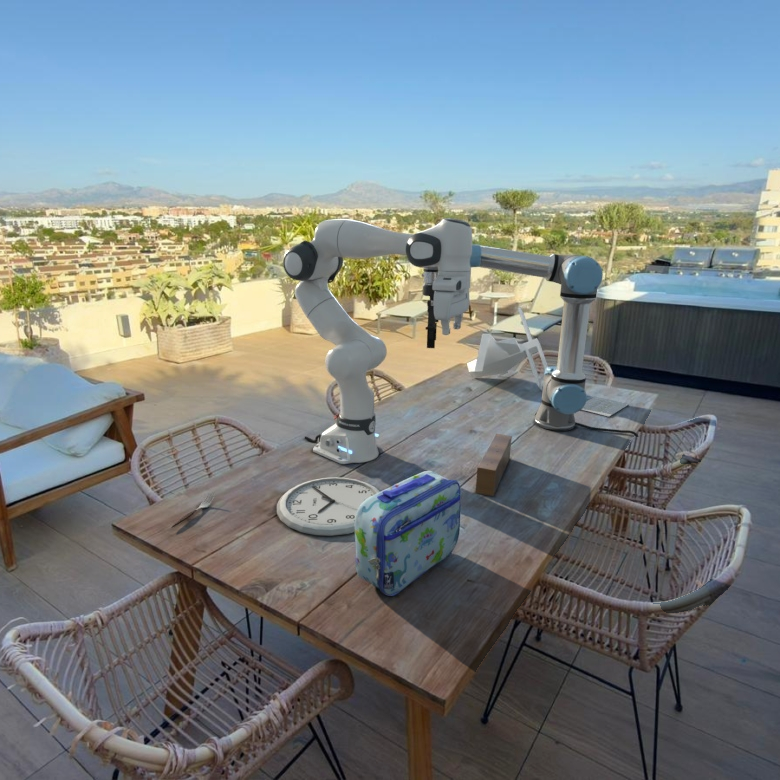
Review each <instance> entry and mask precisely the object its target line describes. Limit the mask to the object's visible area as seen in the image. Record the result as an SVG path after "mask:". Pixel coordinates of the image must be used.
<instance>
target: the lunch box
mask: <svg viewBox="0 0 780 780" xmlns="http://www.w3.org/2000/svg"><path fill="white" fill-rule="evenodd" d="M380 491H381V492H379V493H377V494H375V495H373V496H371V497H369V498H367V499H366V500H364V501H363V502H362V504H361V505H360V506H359V508H358V510H357V513H356V516H355V532H354V543H355V545H354V546H355V548H354V551H355V552H354V553H355V570H356V573H357V577H359V578H360V579H361V580H362V581H363V580H364V581H365V582H367V583H369V584H371V585H373V586H374V587H375V588H377V589H379V591H380V592H381V593H382V594H384V595H386V596H387V597H394V596H396V595H398V594H399V593H400V592H402V591H403V590H404V589H405V588H407V587H408V586H409V585H410V584H412V583H413V582H414V581H416V580H417V579H418V578H421V576H423V575H424V574H425V573H427V572H428V571H429V570H430V569H431V568H432V567H434V566H435V565H437V564H438V563H440V562H442V561H443V560H445V559H446V558H448V557H449V556H450V555H451V554H452V552H453V551H454V550H455V548H456V545H457V544H458V540H459V537H460V529H461V485H460V483H459V482H458V481H457V480H456V479H449V478H446V477H444V476H442V475H440V474H439V473H437V472H434V471H432V470H425V471H422V472H419V473H417V474H415V475H413V476H410V477H408V478H406V479H403V480H401V481H400V482H398V483H395V484H393V485H392V486H389V487H387V488H385V489H384V490H380Z"/></svg>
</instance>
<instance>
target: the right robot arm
mask: <svg viewBox="0 0 780 780" xmlns="http://www.w3.org/2000/svg"><path fill="white" fill-rule="evenodd" d="M470 267H471V268H482V269H488V270H494V271H500V272H507V273H513V274H518V275H526V276H531V277H536V278H543V279H545V280H546V282H551V283H556V284H559V285H560V290H559V291H560V293H559V297H560V298H561V300H562V301H563V306H562V307H563V308H562V316H561V317H562V318H561V326H560V335H559V344H558V353H557V363H556V365H555V366H554V365H553V366H548V367H547V368H546V369H544V373H543V381H542V382H543V384H542V394H541V402H540V405H539V407H538V410H537V411H536V413H535V414H534V424H535V425H536V426H537V427H539V428H542V429H544V430H549V431H556V432H567V431H572V430H574V429H575V428H576V426H579V427H583V428H585V429H589V430H594V431H601V432H609V433H610V432H611V433H620V434H627V433H628V434H632V435H633V436H634V437H636V438H639V437H640V435H638V434H637V432H635V431H634V430H629V429H628V430H625V429H615V428H614V429H613V428H602V427H594V426H590V425H586V424H584V423H580V422H577V421H576V418H575V417H576V416H575V414H576V413H579V412H580V411H582V410H581V409H582V408H583V407H584V406H585V404H586V401H588V397H587V392H586V391H585V390H586V389H585V388H586V381H587V375H586V374H585V373H584V372H583V367H584V360H585V352H586V344H587V343H586V342H587V335H588V327H589V320H590V311H591V304H592V303H593V302H594V301H595V300H596V299H597V295H598V294H597V293H598V288H599V287H600V285H601V284H602V281H603V276H604V275H603V274H604V273H603V269H602V266H601V265H600V263H599V262H598V261H597V260H596V259H594V258H593V257H591V256H587V255H581V254H580V255H579V254H558V253H557V254H556V253H552V254H551V255H543V254H537V253H530V252H524V251H518V250H517V251H516V250H512V249H511V250H510V249H504V248H498V247H490V246H485V245H480V244H474V243H472V256H471V259H470ZM422 270H423V271H422V272H423V273H422V274H421V277H422V283H423V285H422V296H425V297H429V299H428V300H427V302H426V306H427V326H425V330H426V332H427V333H426V349H435V347H436V341H437V327H438V325H437V324H438V323H439V320H436V319H435V316H434V293H435V291H436V290H433V289H432V286H433V282H434V281H435V279H436V278H437V276H438V266H436V267H427V268H422Z"/></svg>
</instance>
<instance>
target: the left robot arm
mask: <svg viewBox="0 0 780 780" xmlns="http://www.w3.org/2000/svg"><path fill="white" fill-rule="evenodd" d="M472 244H473V230H472V226H471V225H470V223H469V222H467V221H465V220H461V219H457V218H443V219H442V220H441V221H440V222H439V223H438V224H436V225H434V226H432V227H430V228H428V229H425V230H421V231H419V232H416V233H407V232H405V233H404V232H397V231H392V230H389V229H386V228H382V227H379V226H376V225H374V224H370V223H366V222H363V221H359V220H353V219H342V218H339V219H337V218H335V219H327V220H326V219H325V220H322V221H321V222H319V223H318V224H317V225H316V227H315V230H314V234H313V239H312V240H311V241H308V240H303V241H301V242H300V243H298V244H296V245H293V246H292V247H290V248H289V249H287V250H286V252H285V253H284V255H283V259H282V267H283V270H284V272H285V274H286V275H287V276H288V277H289V278H290V279H292V280H295V281H299V282H298V283H297V285H296V286H295V288H294V296H295V299H296V301H297V303H298V305H299V307H300V310H301V311H302V312H303V315H305V317H306V318H307V319H308V321H309V323H310V324H311V325H312V326H313V328H314V329H315V330H316V332H317V334H318V335H319V337H320V338H322V339H323V340H324V341H327V342H330V343H332V344H333V345H335V346H334V347H333V348H331V350H328V352H327V353H326V355H325V358H324V365H325V368H326V371H327V373H328V374H329V375H330V376H331V377H332V378H334V380H335V381H336V384H337V388H338V391H339V405H340V410H339V411H340V412H338V413H337V414H336V415H333V420H336V422H335V423H333V424H332V425H331V426H329V427H328V428H326V429H325V430H324V431H323V432H320V433H319V434H316V436H315V437H314V439H313V438H310V437H309V436H304V439H305V440H307V441H308V442H311V443H316V444H315V445H314V446H313V448H312V452H313V453H315V454H317V455H320V456H321V457H324V458H326V459H329V460H331V461H333V462H336V463H337V464H339V465H347V464H348V465H349V464H354V463H355V464H357V463H359V464H361V463H367V462H370V461H373V460H375V459H376V458H378V456H379V455H380V452H379V448H378V445H377V440H376V437H377V438H378V437H379V433H376V425H377V423H376V421H377V420H376V413H375V391H374V389H373V388H372V387H371V386H369V383H368V379H367V373H368V372H369V371H371V370H374V369H376V368H377V367H378V366H380V365H381V364H382V363H383V362H384V361H385V359H386V358H387V355H388V350H387V346H386V344H385V342H384V341H383V340H382V339H381V338H380V337H378V336H375V335H373V334H371V333H369V332H368V331H367V330H366V329H364V328H363V327H362V326H360V324H358V323H357V322H356V321H354V319H353V318H352V317H350V315H349V314H348V313H347V311H346V310H345V309H344V308H343V306H342V305H341V304H340V302H339V301H338V299H337V298H336V297H335V296H334V294H333V293H332V291H331V290H330V289H329V286H328V285H329V284H330V283H333V282H334V281H335V279H336V276H337V275H338V274H339V273H340V271H341V270H342V267H343V264H344V259H349V260H362V259H372V258H377V257H383V256H391V255H398V256H399V255H400V256H406V258H407V261H408V262H409V263H410V264H411V265H412V266H414V267H416V268H420V269H421V268H422V269H423V268H427V267H436V266H438V276H437V278H436V279H435V281H434V282H433V286H432V289H433V290H436V291H435V293H434V316H435V319H436V320H438V321H440V326H441V329H442V331H441V334H442V335H443V336H449V335H451V327H450V322H451V319H454V322H453V329H454V330H460V329H461V328H462V321H463V317H464V313H466V312H468V311H469V308H470V288H471V279H472V267H470V259H471V256H472ZM317 442H318V443H317Z"/></svg>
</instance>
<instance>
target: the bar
mask: <svg viewBox="0 0 780 780" xmlns="http://www.w3.org/2000/svg"><path fill="white" fill-rule="evenodd" d="M512 438H513V435H507V434H501V433H495V434H494V437H493V438H492V440H491V441H490V443H489V446H488V447H487V449H486V451H485V452H484V455H483V457H482V458H481V460H480V462H479V464H478V465H477V467H476V478H475V479H476V481H475V494H480V495H485V496H490V497H494V495H495V494H496V491H497V489H498V486H499V485H500V482H501V479H502V477H503V475H504V473H505V471H506V468H507V466H508V464H509V461H510V459H511V448H512V447H511V446H512Z"/></svg>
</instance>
